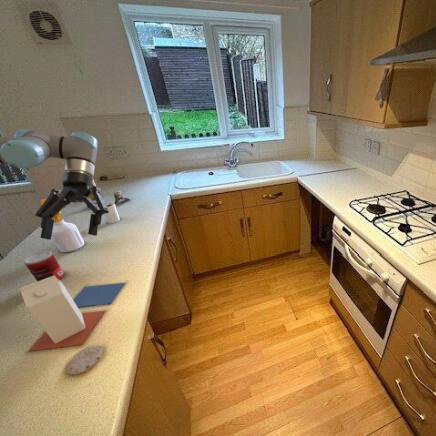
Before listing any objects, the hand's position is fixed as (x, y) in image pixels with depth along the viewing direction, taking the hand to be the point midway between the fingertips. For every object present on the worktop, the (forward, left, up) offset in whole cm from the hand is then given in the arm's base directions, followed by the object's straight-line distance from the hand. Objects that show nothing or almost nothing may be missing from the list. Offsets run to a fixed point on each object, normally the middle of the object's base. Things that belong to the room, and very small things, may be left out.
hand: (69, 236), depth 75 cm
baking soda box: (-57, +99, -24) cm, 116 cm away
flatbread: (+11, -26, -24) cm, 37 cm away
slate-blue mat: (0, -1, -24) cm, 24 cm away
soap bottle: (-30, +34, -24) cm, 51 cm away
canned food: (-23, +11, -24) cm, 35 cm away
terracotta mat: (0, -15, -24) cm, 29 cm away
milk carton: (0, -15, -24) cm, 28 cm away
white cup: (-24, +59, -24) cm, 68 cm away
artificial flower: (-39, +85, -24) cm, 96 cm away
